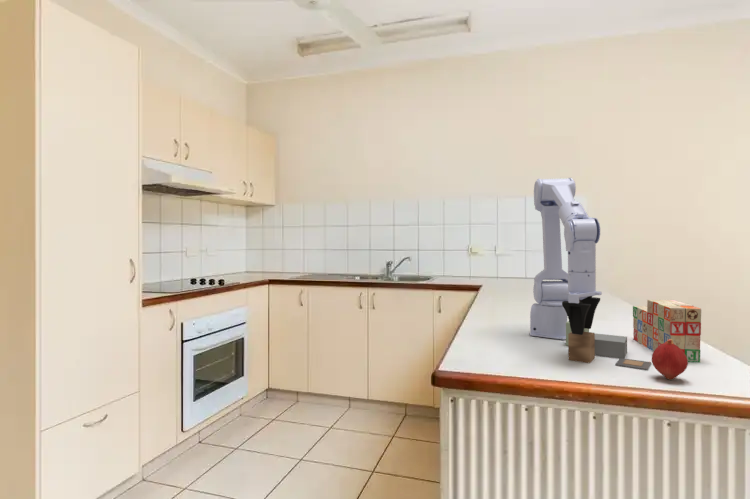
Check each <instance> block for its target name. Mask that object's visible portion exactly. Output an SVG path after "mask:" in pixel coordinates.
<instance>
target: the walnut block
mask: <svg viewBox="0 0 750 499" xmlns="http://www.w3.org/2000/svg"><path fill="white" fill-rule="evenodd" d="M595 334H596V333H595V332H591V331H589V332H583V334H582V335H579V334H572V332H571V333H569V334H568V346H567V347H568V349H567V350H568V354H567V355H568V361H573V362H579V363H585V364H586V363H587V364H591V363H592V362H594V360H595V359H596V358H595V357H596V355H595Z"/></svg>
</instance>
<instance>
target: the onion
mask: <svg viewBox="0 0 750 499" xmlns="http://www.w3.org/2000/svg"><path fill="white" fill-rule="evenodd" d="M651 364H652V366H653V367H654V369H655V370H656V371H657V372H658V373H660V374H661V375H662V376H663V377H665V379H666V380H674V379H675V378H676V377H678V376H680V375H682V374H683V373H684V372H685V371H686V370H687V368H688V364H689V362H688V360H687V357H686V355H685V353H684V352H683V351H682V350H681V349H680V348H679V347H678V346H676V345H675V344H674V343H673V340H672V339H668V340H667V341H666V342H665V343H663V344H661V345H659V346H658V347H657V348H656V349H655V351H652V354H651Z"/></svg>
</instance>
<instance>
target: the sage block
mask: <svg viewBox="0 0 750 499" xmlns="http://www.w3.org/2000/svg"><path fill="white" fill-rule="evenodd" d="M571 332H572V331H571V328H570V323H569V320H567V322H566V339H565V346H566V347H568V334H569V333H571ZM584 332H590V329H587V328H584Z"/></svg>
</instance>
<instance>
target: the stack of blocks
mask: <svg viewBox="0 0 750 499" xmlns="http://www.w3.org/2000/svg"><path fill="white" fill-rule="evenodd" d="M646 300H647V302H646V303H647V304H646V305H633V306H632V318H633V321H632V326H633V327H632V328H633V340H635V341H636V342H638V343H639V344H640V345H643V347H645V348H646V349H648V350H651V351H652V352H654V351H655V349H656V348H657V347H658V346H659V345H661V344H663V343H665V342H666V341H667V340H668V339H672V340H673V343H674V344H675V345H676V346H678V347H679V348H680V349H681V350H682V351H683V352H684V353H685V355H686V357H687V360H688V363H701V335H702V308H700V307H697V306H694V304H690V303H686V302H683V301H678V300H675V299H646Z"/></svg>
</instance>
